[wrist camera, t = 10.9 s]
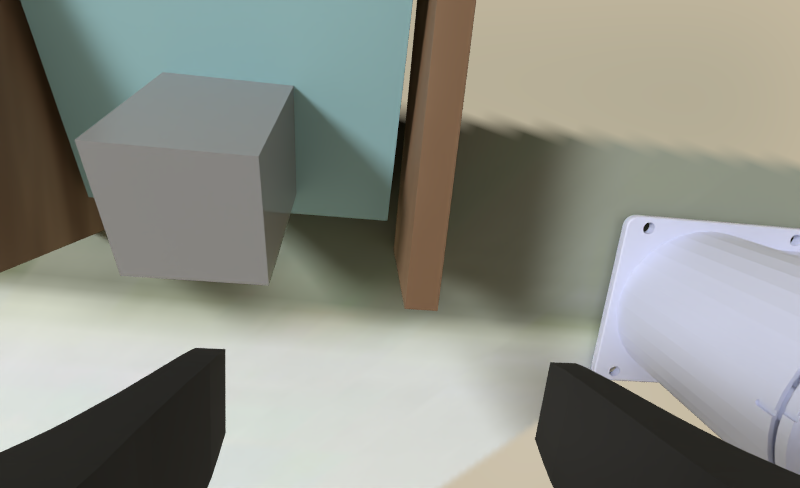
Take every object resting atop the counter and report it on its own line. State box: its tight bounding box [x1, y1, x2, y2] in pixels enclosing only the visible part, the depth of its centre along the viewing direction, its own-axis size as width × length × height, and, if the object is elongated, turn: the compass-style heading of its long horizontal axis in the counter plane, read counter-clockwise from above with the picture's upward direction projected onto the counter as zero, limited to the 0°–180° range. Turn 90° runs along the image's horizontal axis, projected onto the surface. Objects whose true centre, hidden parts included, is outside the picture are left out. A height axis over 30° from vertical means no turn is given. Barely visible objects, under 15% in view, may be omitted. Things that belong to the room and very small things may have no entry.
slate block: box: [75, 72, 297, 285], centre depth 13 cm, size 4×4×5 cm
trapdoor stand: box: [0, 0, 476, 311], centre depth 15 cm, size 14×14×6 cm
